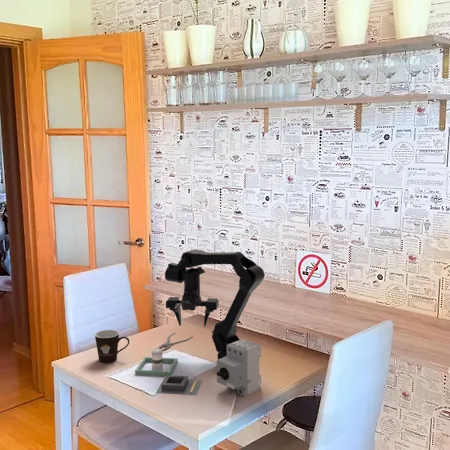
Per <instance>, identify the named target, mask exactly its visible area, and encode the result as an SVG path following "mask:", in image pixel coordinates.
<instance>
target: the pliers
mask: <svg viewBox="0 0 450 450" xmlns="http://www.w3.org/2000/svg"><path fill="white" fill-rule="evenodd" d="M175 334H176V332H173V333H171V334H169V335H168V336H167V340H166V341H165V343H162V344H161V345H159V346H158V347H157V348H160V349H162V351H163V352H164V351H168V350H169V349H171V347H173V346H174V345H177V344H181V343H184V342H187V341H190V340H191V339H192V338H193V337H194V335H191V336H190V337H188V338H187V339H182V340H178V341H174V342H171V341H170V338H171V337H172V336H174V335H175Z"/></svg>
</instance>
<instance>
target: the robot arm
mask: <svg viewBox="0 0 450 450" xmlns="http://www.w3.org/2000/svg"><path fill="white" fill-rule="evenodd" d="M203 265H231V266H232V268H233V270H234V272H235V274H236V275H237V276H238V278H239V281H238V290H237V292H236V294H235V297H234V299H233V301H232V303H231V305H230V308H229V309H228V312H227V314H226V315H225V318H224V319H222V320H220V321H218V322H216V323H215V326H214V329H213V330H212V331H211V339H212V342H213V343H214V344H213V345H214V347H215V350H216V352H217V360H218V359H221V358H223V357H226V356H227V345H228V344H231V343H233V342H236V341H239V340H241V339H240V338H239V337H238V335H237V327H238V326H237V324H238V321H239V320H240V318H241V316H242V314H243V312H244V309H245V308H246V305H247V304H248V301H249V300H250V298H251V295H252V293H253V292H254V291H255V290H256V289H257V288H258V287H259V286H260V284H261V283H262V282H263V280H264V279H265V272H264V269H263V268H262V267H261V266H259V265H258V264H257V263H256V262H254V260H252V259H250V258H248V257H247V256H245V255H244V253H243V252H241V251H236V252H235V251H233V252H230V251H229V252H208V251H206V250H201V249H192V250H188V251H185V252H183V253H182V254H181V257H180V259H179V261H178V263H175V262H170V263H168V264H167V268H166V269H165V272H164V279H165V280H166V281H167V282H171V283H172V282H173V283H179V284H182V283H183V294H182V298H181V299H180V297H178V296H170V297H168V298H167V300H166V301H165V308H166V309H169V311H172V312H173V314H174V315H175V317H176V320H177V323H178V325H179V327H180V326H182V311H195V310H196V307H205V310H204V322H203V326H204V328H206V326H207V323H208V320H209V317H210V314H211V313H213V312H214V311H217V310H218V308H219V304H220V301H219V299H218V298H213V297H212V298H207V300H202V297H201V275H203V274H205V273H206V271H205V270H204V268H202V266H203ZM181 310H182V311H181Z"/></svg>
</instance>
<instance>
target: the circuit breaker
mask: <svg viewBox="0 0 450 450" xmlns="http://www.w3.org/2000/svg"><path fill="white" fill-rule="evenodd" d="M261 345H262V344H260V343H258V342H254V341H251V340H249V339H246V338H243V339H240V340H239V341H236V342H233V343H231V344H228V345H227V356H226V357H223V358H221V359H218V358H217V360H216V367H215V369H216V382H217V384H219V385H223V386H225V387H227V388H229V389H232V390H236V391H235V394H237V395H240V396H242V397H246V396H248V395H250V394H252V393H255V392H256V391H258V390H261V389H262V387H261V385H262V375H261V374H260V358H262V348H261Z"/></svg>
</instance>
